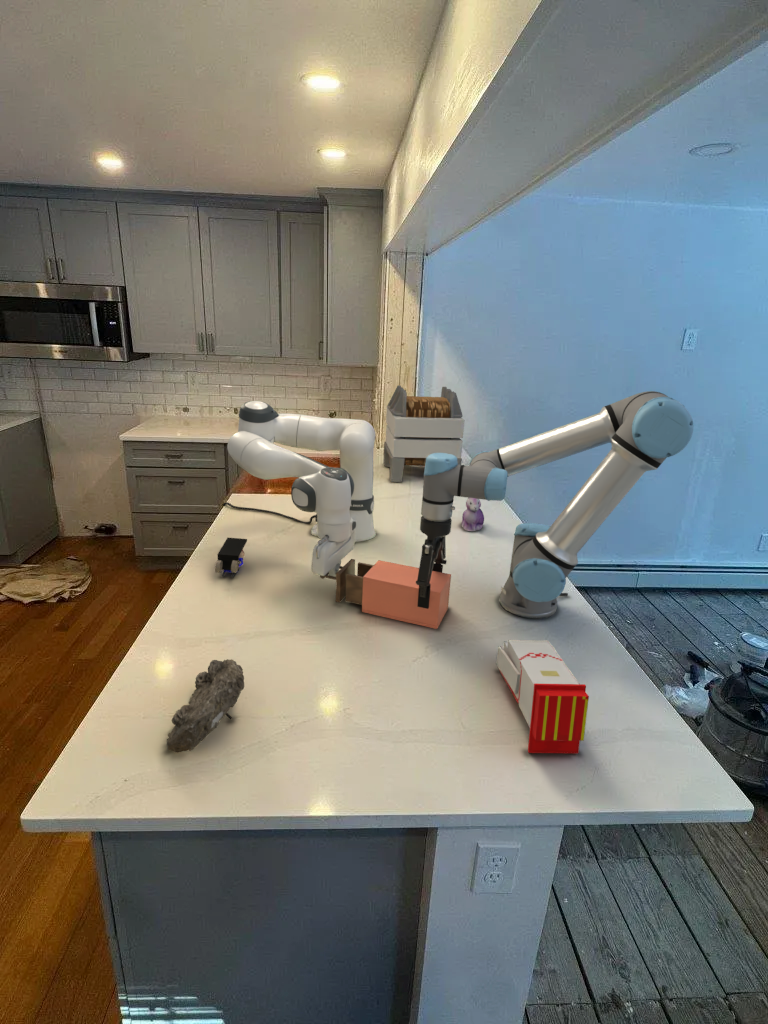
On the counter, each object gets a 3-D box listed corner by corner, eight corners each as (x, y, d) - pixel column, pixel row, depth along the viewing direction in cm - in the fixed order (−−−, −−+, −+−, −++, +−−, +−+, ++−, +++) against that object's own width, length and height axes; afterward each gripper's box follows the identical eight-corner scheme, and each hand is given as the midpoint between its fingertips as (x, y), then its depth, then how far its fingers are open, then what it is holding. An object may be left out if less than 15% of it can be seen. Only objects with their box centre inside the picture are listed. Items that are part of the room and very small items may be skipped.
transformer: (382, 463, 289) (386, 382, 275) (445, 464, 293) (451, 384, 279) (390, 482, 257) (394, 392, 243) (460, 483, 261) (468, 394, 247)
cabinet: (361, 612, 147) (363, 576, 144) (376, 593, 157) (378, 559, 154) (437, 629, 141) (440, 592, 138) (448, 608, 151) (451, 574, 148)
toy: (545, 623, 127) (598, 692, 98) (539, 677, 130) (590, 761, 101) (491, 622, 127) (529, 691, 98) (487, 677, 130) (522, 760, 100)
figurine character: (238, 584, 162) (249, 557, 175) (236, 562, 158) (247, 536, 172) (215, 584, 161) (227, 556, 175) (212, 561, 158) (225, 535, 171)
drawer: (317, 597, 152) (317, 569, 149) (333, 582, 161) (333, 555, 158) (404, 617, 144) (406, 587, 141) (415, 599, 153) (417, 571, 150)
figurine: (470, 533, 202) (474, 493, 197) (453, 524, 211) (457, 485, 206) (491, 530, 207) (495, 491, 202) (474, 520, 215) (478, 483, 210)
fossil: (192, 660, 117) (244, 628, 112) (224, 691, 120) (276, 661, 115) (142, 746, 98) (202, 712, 93) (182, 779, 101) (242, 748, 96)
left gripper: (328, 545, 139) (328, 595, 144) (359, 519, 157) (358, 564, 162) (304, 541, 141) (305, 591, 146) (338, 515, 159) (338, 560, 164)
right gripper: (438, 536, 126) (431, 621, 134) (462, 504, 147) (454, 580, 155) (406, 530, 129) (401, 614, 136) (434, 500, 150) (428, 575, 157)
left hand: (333, 576), depth 154 cm, fingers closed, pressing on drawer
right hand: (429, 596), depth 146 cm, fingers closed on cabinet, 11 cm apart
